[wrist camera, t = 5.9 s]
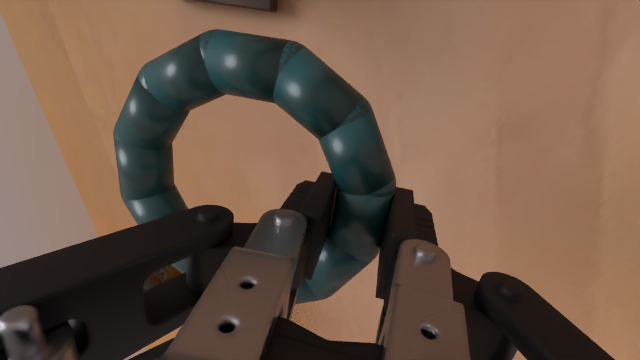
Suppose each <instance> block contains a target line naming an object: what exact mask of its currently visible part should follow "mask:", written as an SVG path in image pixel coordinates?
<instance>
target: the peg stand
mask: <svg viewBox="0 0 640 360" xmlns="http://www.w3.org/2000/svg"><path fill="white" fill-rule="evenodd" d="M195 1H202V2H209V3H215V4H222V5H229V6H236V7H243V8H250V9H257V10H263V11H270V12H276V10H277V0H195Z"/></svg>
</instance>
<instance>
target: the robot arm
mask: <svg viewBox="0 0 640 360" xmlns="http://www.w3.org/2000/svg"><path fill="white" fill-rule="evenodd" d="M336 191H337V185H336V182H335V180H334V177H333V175H332V173H327V172H323V171H322V172H321V173H320V175H319V177H318V178H317V180H316V182H312V181H307V180H306V181H304V182H301V183H299V184H297V185H296V187H295V188H294V190H293V192H291V194H290V195H289V197H288V198H287V199H286V201H285V202H284V204H283V205H282V206H281V208H280V209H274V210H270V211H268V212H266V213H264V214H263V215H262V217H261V218H260V220H259V222H258V223H233V220H234V215H233V213H232V212H231V211H230V210H229V209H227V208H225V207H222V206H218V205H202V206H198V207H194V208H191V209H188V210H185V211H181V212H178V213H175V214H172V215H169V216H165V217H162V218H159V219H156V220H153V221H149V222H146V223H143V224H140V225H137V226H133V227H130V228H127V229H124V230H121V231H117V232H114V233H111V234H108V235H105V236H101V237H98V238H95V239H92V240H89V241H85V242H82V243H79V244H76V245H72V246H69V247H66V248H63V249H60V250H56V251H53V252H50V253H47V254H44V255H40V256H37V257H34V258H31V259H28V260H24V261H21V262H18V263H15V264H12V265H9V266H6V267H2V268H0V360H123V359H125V358H127V357H128V356H130V355H132V354H133V353H135V352H137V351H139V350H140V349H142V348H144V347H146V346H147V345H149V344H151V343H153V342H154V341H156V340H158V339H160V338H161V337H163V336H165V335H167V334H168V333H170V332H172V331H173V330H175V329H177V328H179V327H180V326H182V325H183V326H182V327H181V329H180V330H179V332H178V333H177V335H176V337H175V338H173V339H170V340H168V341H166V342H164V343H162V344H160V345H158V346H156V347H154V348H152V349H149V350H147V351H145V352H143V353H141V354H139V355H137V356H135V357H133V358H131V359H129V360H512V359H513V357H514V355H515V354H516V352H517V350H519V351H520V352H521V353H522V355H523V356H524V357H525V358H526V359H527V360H615V359H613V358H612V357H611V356H610V355H609V354H608V353H606V352H605V351H604V350H603V349H602V348H601V347H599V346H598V345H597V344H596V343H595V342H594V341H592V340H591V339H590V338H589V337H588V336H587V335H585V334H584V333H583V332H582V331H581V330H580V329H578V328H577V327H576V326H575V325H574V324H573V323H571V322H570V321H569V320H568V319H567V318H566V317H564V316H563V315H562V314H561V313H560V312H559V311H557V310H556V309H555V308H554V307H553V306H552V305H550V304H549V303H548V302H547V301H546V300H545V299H543V298H542V297H541V296H540V295H539V294H538V293H536V292H535V291H534V290H533V289H532V288H531V287H529V286H528V285H527V284H525V283H524V282H522V281H521V280H519V279H517V278H515V277H513V276H510V275H507V274H504V273H500V272H487V273H485V274H483V275H482V277H481V279H480V281H479V282H478V281H476V280H474V279H472V278H469V277H467V276H465V275H463V274H461V273H459V272H457V271H455V270H454V269H452V268H451V267H450V259H449V256H448V255H447V253H446V252H445V251H444V250H442V249H441V248H440V247H438V243H437V238H436V233H435V229H434V223H433V218H432V213H431V212H430V211H429V210H428V209H427V208H426V207H425V206H423V205H418V204H414V197H413V190H408V189H404V188H399V187H396V189H395V193H394V194H393V198H392V202H391V206H390V210H389V214H388V218H387V222H386V226H385V230H384V234H383V238H382V242H381V246H380V254H379V265H378V276H377V287H376V297H377V298H380V299H384V305H383V309H382V312H381V316H380V320H379V325H378V330H377V335H376V341H375V343H360V342H343V341H330V340H326V339H324V338H322V337H320V336H318V335H316V334H314V333H313V332H311V331H309V330H307V329H305V328H303V327H301V326H299V325H298V324H296V323H294V322H292V321H291V317H292V313H293V309H294V306H295V302H296V298H297V293H298V287H299V286H300V284H301V282H302V279H303V278H304V279H308V280H311V279H312V276H313V274H314V271H315V268H316V265H317V263H318V260H319V257H320V255H321V252H322V249H323V246H324V244H325V241H326V238H327V235H328V232H329V229H330V226H331V220H332V214H333V209H334V203H335V197H336ZM183 259H185V262H186V272H185V273H183V274H180V275H178V276H176V277H174V278H172V279H169V280H167V281H165V282H163V283H161V284H159V285H156V286H154V287H152V288H150V289H148V290H145V291H143V286H144V283H145V281H146V279H147V278H148V277H149V276H150V275H151V274H152V273H154V272H155V271H157V270H160V269H162V268H164V267H167V266H169V265H171V264H174V263H176V262H178V261H181V260H183Z"/></svg>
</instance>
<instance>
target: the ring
mask: <svg viewBox="0 0 640 360" xmlns="http://www.w3.org/2000/svg"><path fill="white" fill-rule="evenodd" d="M226 94H228V95H234V96H239V97H245V98H250V99H255V100H261V101H266V102H272V103H276V104H277V105H278V106H279V107H280V108H282V109H283V110H284V111H285V112H286V113H288V114H289V115H290V116H291V117H292V118H294V119H295V120H296V121H297V122H298V123H300V124H301V125H302V126H303V127H304V128H306V129H307V130H308V131H309V132H310V133H312V134H313V135H314V136H315V137H316V138H318V140H319V142H320V145H321V147H322V150H323V152H324V155H325V157H326V160H327V162H328V165H329V167H330V170H331V172H332V175H333V177H334V180H335V182H336V185H337V191H336V197H335V203H334V209H333V214H332V220H331V226H330V229H329V232H328V235H327V238H326V241H325V244H324V246H323V249H322V252H321V255H320V257H319V260H318V263H317V265H316V268H315V271H314V274H313V276H312V279H311V280H308V279H304V278H303V279H302V282H301V284H300V286H299V287H298V293H297V298H296V302H295V304H299V303H305V302H311V301H317V300H323V299H326V298H328V297H330V296H332V295H333V294H334V293H335V292H337V291H338V290H339V289H340V288H341V287H342V286H344V285H345V284H346V283H347V282H348V281H349V280H351V279H352V278H353V277H354V276H355V275H356V274H358V273H359V272H360V271H361V270H362V269H363V268H365V267H366V266H367V265H368V264H369V263H370V262H372V261H373V260H374V259H375V257H376V256H377V255H378V253H379V251H380V246H381V242H382V238H383V234H384V230H385V226H386V222H387V218H388V214H389V210H390V206H391V202H392V198H393V194H394V193H395V189H396V178H395V174H394V171H393V168H392V165H391V162H390V159H389V157H388V154H387V151H386V148H385V145H384V142H383V139H382V136H381V133H380V130H379V127H378V124H377V121H376V118H375V115H374V113H373V110H372V107H371V105H370V103H369V102H368V101H367V99H366V98H365V97H364V96H363V95H361V94H360V93H359V92H358V91H357V90H356V89H354V88H353V87H352V86H351V85H350V84H349V83H347V82H346V81H345V80H344V79H343V78H342V77H340V76H339V75H338V74H337V73H336V72H335V71H333V70H332V69H331V68H330V67H329V66H328V65H326V64H325V63H324V62H323V61H322V60H321V59H319V58H318V57H317V56H316V55H315V54H314V53H312V52H311V51H310V50H309V49H308V48H307V47H305V46H304V45H302V44H300V43H298V42H295V41H291V40H285V39H278V38H272V37H265V36H259V35H252V34H246V33H239V32H233V31H227V30H219V29H217V30H209V31H206V32H204V33H202V34H200V35H198V36H196V37H195V38H193V39H191V40H189V41H187V42H185V43H183V44H181V45H179V46H178V47H176V48H174V49H172V50H170V51H168V52H166V53H164V54H162V55H161V56H159V57H157V58H155V59H153V60H151V61H149V62H148V63H146V64H145V65H144V66H143V67H142V68H141V70H140V71H139V73H138V75H137V77H136V80H135V82H134V84H133V86H132V89H131V91H130V93H129V95H128V98H127V100H126V102H125V104H124V107H123V109H122V111H121V113H120V115H119V118H118V120H117V122H116V124H115V127H114V132H113V135H114V145H115V152H116V160H117V168H118V176H119V184H120V192H121V197H122V199H123V201H124V203H125V205H126V206H127V208H128V209H129V211H130V213H131V214H132V216H133V218H134V219H135V221H136V222H137V224H138V225H140V224H143V223H146V222H149V221H153V220H156V219H159V218H162V217H165V216H169V215H172V214H175V213H178V212H181V211H185V210H188V208H187V206H186V204H185V202H184V200H183V199H182V197H181V195H180V193H179V191H178V190H177V188H176V186H175V184H174V170H173V150H172V142H173V140H174V138H175V137H176V135H177V133H178V131H179V130H180V128H181V126H182V124H183V122H184V121H185V119H186V117H187V115H188V114H189V112H190V110H192V109H194V108H196V107H199V106H201V105H203V104H205V103H208V102H210V101H212V100H214V99H217V98H219V97H221V96H224V95H226ZM171 266H173V267H174V268H175V269H177V270H178V271H179V272H181V273H182V274H183V273H185V272H186V262H185V259H183V260H181V261H178V262H176V263H174V264H171Z"/></svg>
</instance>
